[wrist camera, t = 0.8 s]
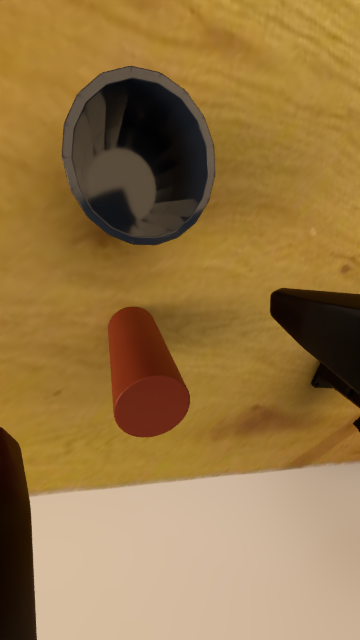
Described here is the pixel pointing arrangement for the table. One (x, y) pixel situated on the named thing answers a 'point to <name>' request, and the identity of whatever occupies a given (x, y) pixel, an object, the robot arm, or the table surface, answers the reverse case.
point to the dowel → (144, 376)
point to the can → (138, 156)
